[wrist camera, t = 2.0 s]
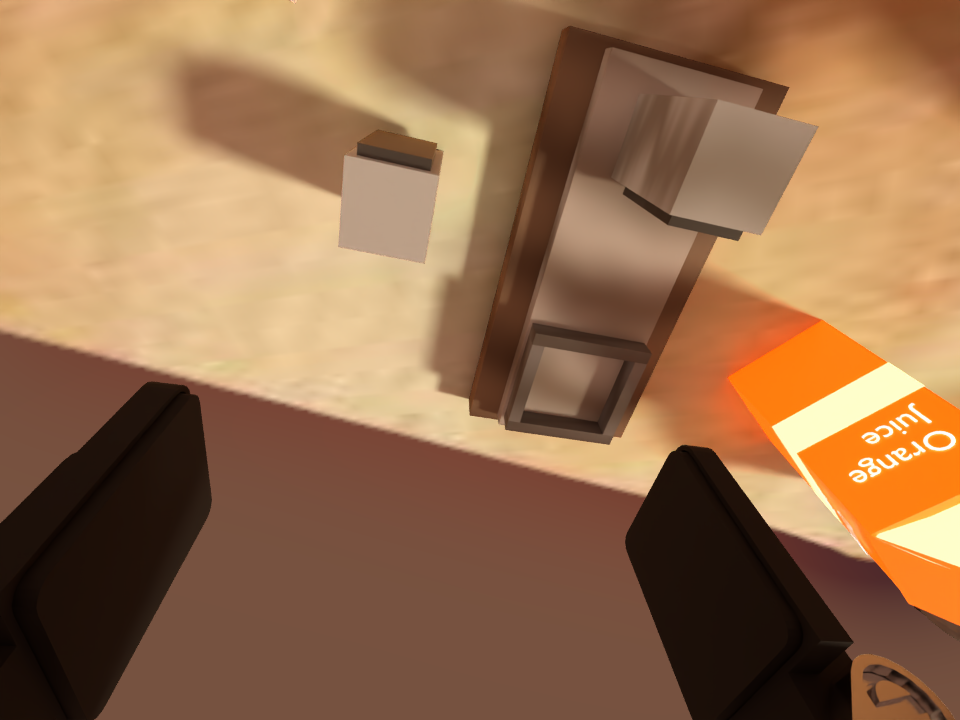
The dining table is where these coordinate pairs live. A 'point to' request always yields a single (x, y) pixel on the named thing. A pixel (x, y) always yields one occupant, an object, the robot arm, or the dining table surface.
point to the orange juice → (869, 454)
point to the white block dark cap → (389, 195)
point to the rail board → (622, 227)
